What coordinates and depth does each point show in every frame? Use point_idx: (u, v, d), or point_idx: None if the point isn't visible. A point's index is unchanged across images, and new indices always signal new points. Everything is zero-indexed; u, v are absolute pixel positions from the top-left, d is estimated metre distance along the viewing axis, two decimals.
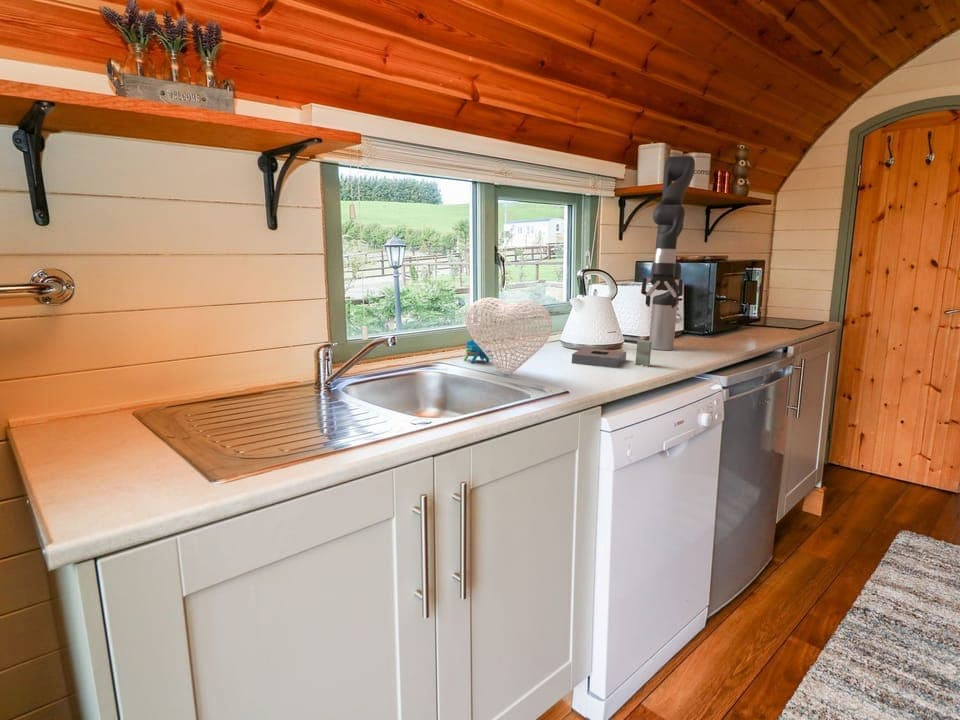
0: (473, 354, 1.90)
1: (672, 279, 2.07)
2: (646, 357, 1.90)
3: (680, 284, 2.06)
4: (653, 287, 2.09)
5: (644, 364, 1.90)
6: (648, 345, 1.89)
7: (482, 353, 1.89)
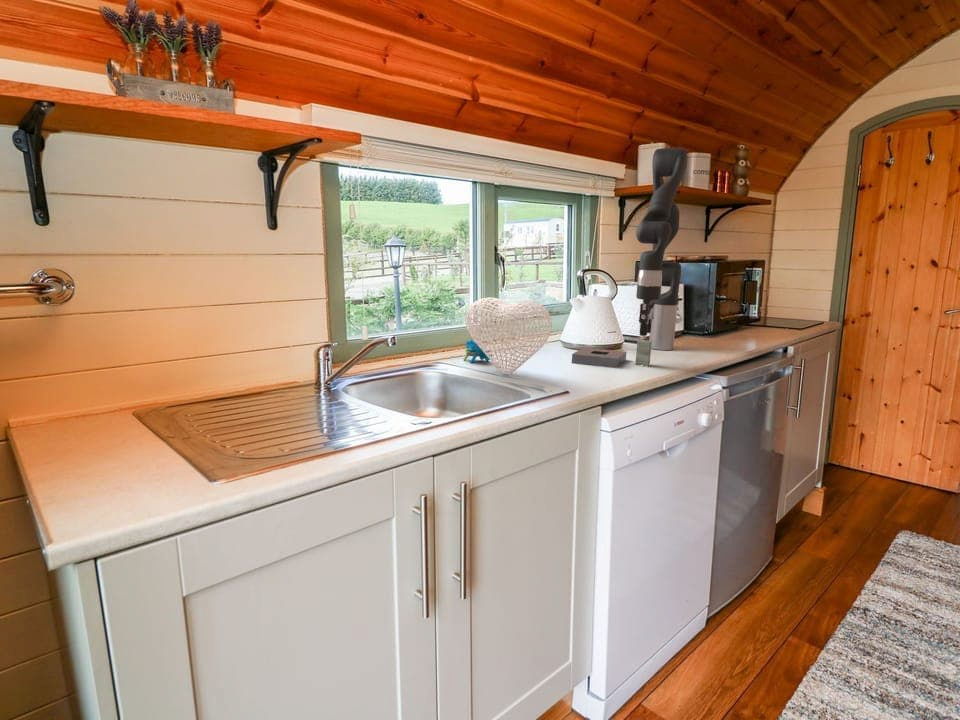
0: (473, 354, 1.90)
1: (652, 302, 1.91)
2: (646, 357, 1.90)
3: None
4: (651, 313, 1.86)
5: (644, 364, 1.90)
6: (648, 345, 1.89)
7: (481, 353, 1.89)
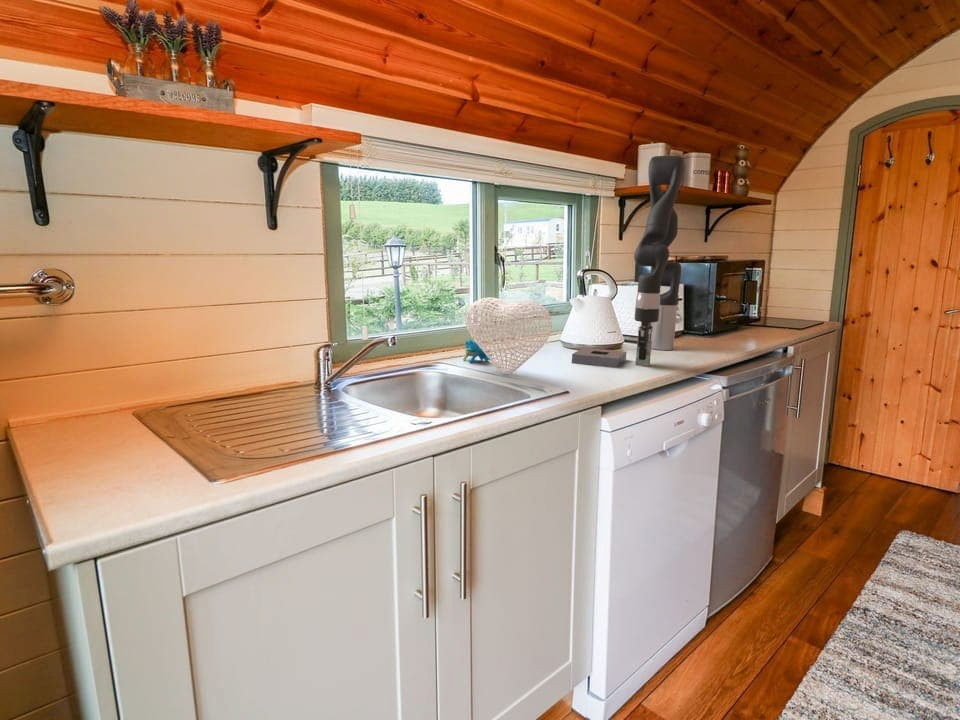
0: (472, 354, 1.90)
1: (650, 324, 1.93)
2: (646, 357, 1.90)
3: None
4: (649, 337, 1.88)
5: (644, 364, 1.90)
6: (648, 345, 1.89)
7: (481, 353, 1.89)
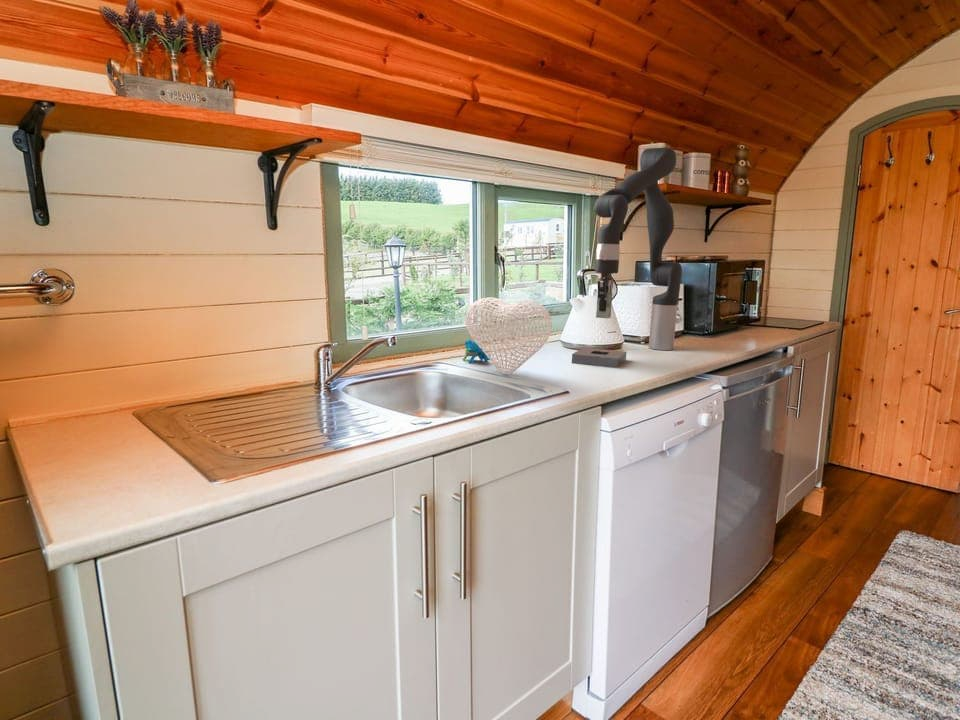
0: (471, 354, 1.90)
1: (611, 277, 1.94)
2: (606, 308, 1.90)
3: (612, 284, 1.96)
4: (609, 288, 1.89)
5: (604, 316, 1.91)
6: (608, 296, 1.90)
7: (480, 353, 1.89)
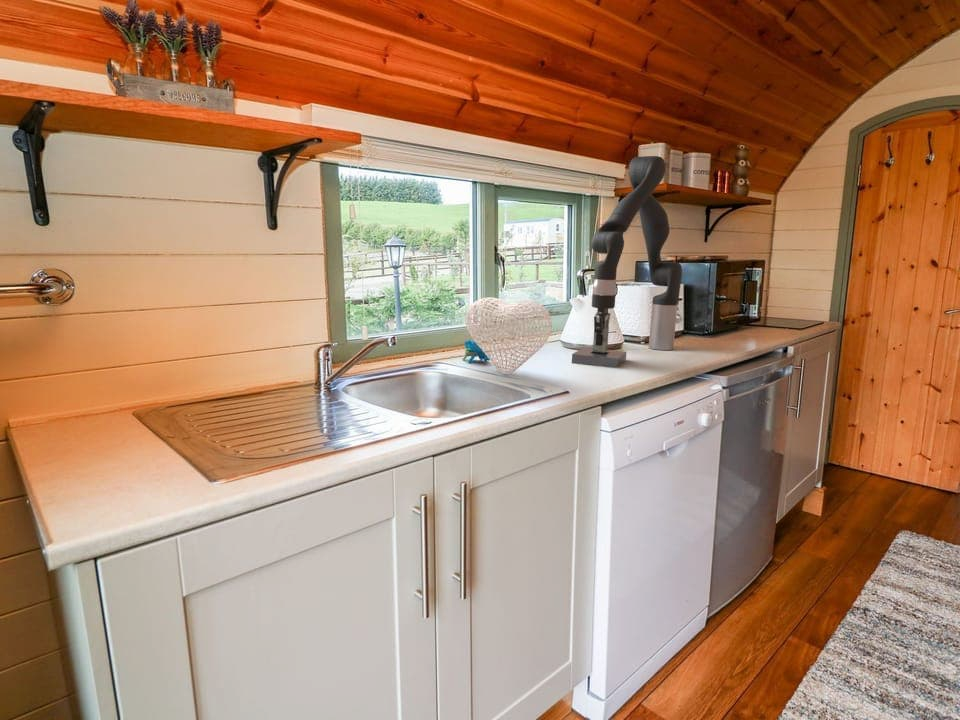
0: (471, 354, 1.90)
1: None
2: (603, 342, 1.93)
3: (609, 318, 1.98)
4: (605, 323, 1.91)
5: (601, 350, 1.93)
6: (605, 331, 1.92)
7: (480, 353, 1.89)
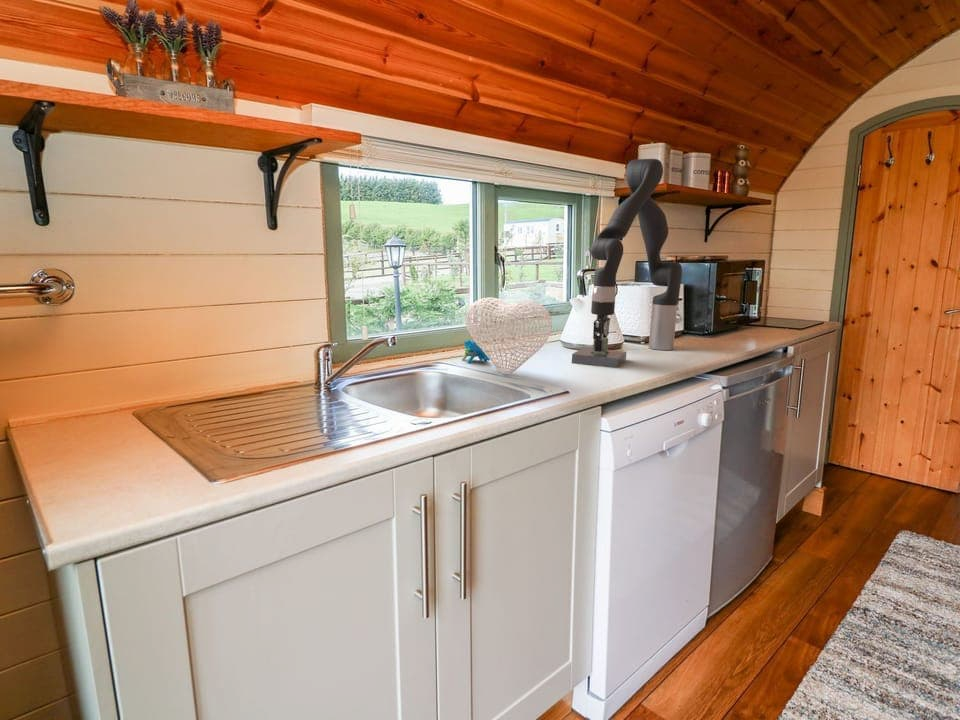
0: (471, 354, 1.90)
1: (607, 317, 1.96)
2: (602, 353, 1.94)
3: (609, 323, 1.99)
4: (605, 329, 1.91)
5: None
6: (604, 342, 1.93)
7: (479, 353, 1.89)
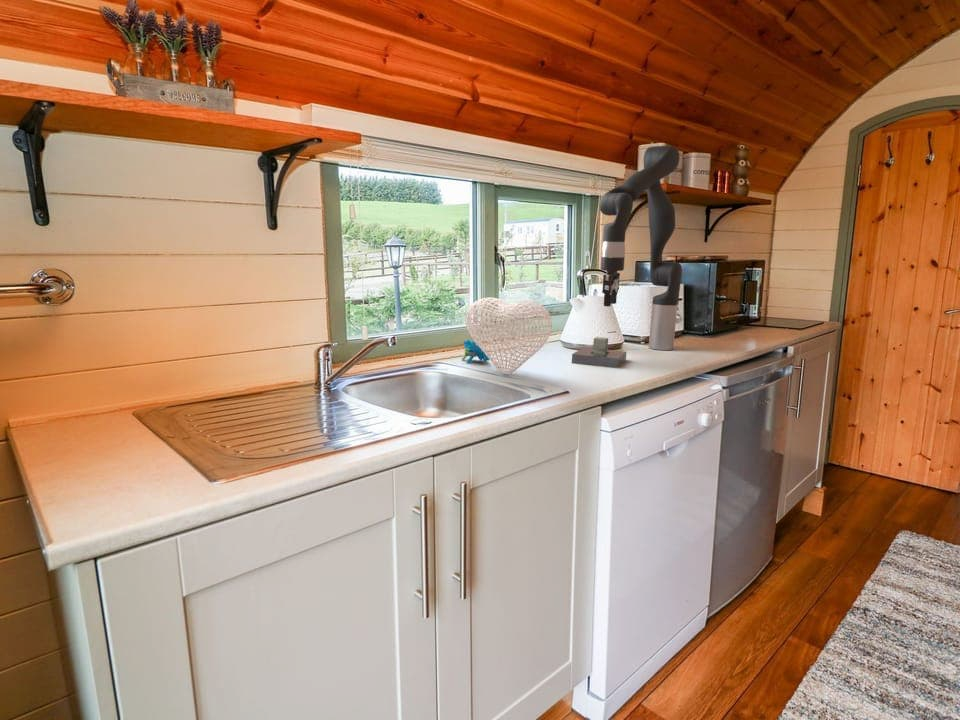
0: (470, 354, 1.90)
1: (617, 273, 1.95)
2: (602, 353, 1.94)
3: None
4: (614, 284, 1.90)
5: None
6: (604, 342, 1.93)
7: (479, 353, 1.89)
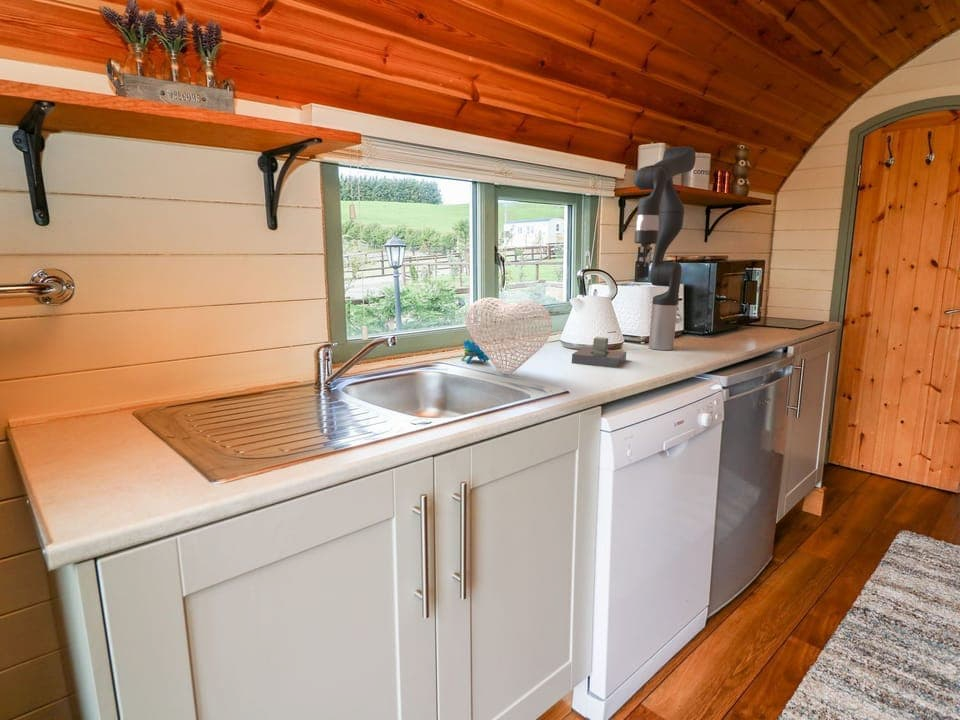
0: (470, 354, 1.90)
1: (650, 247, 2.00)
2: (602, 353, 1.94)
3: None
4: (648, 257, 1.95)
5: None
6: (604, 342, 1.93)
7: (478, 353, 1.88)
